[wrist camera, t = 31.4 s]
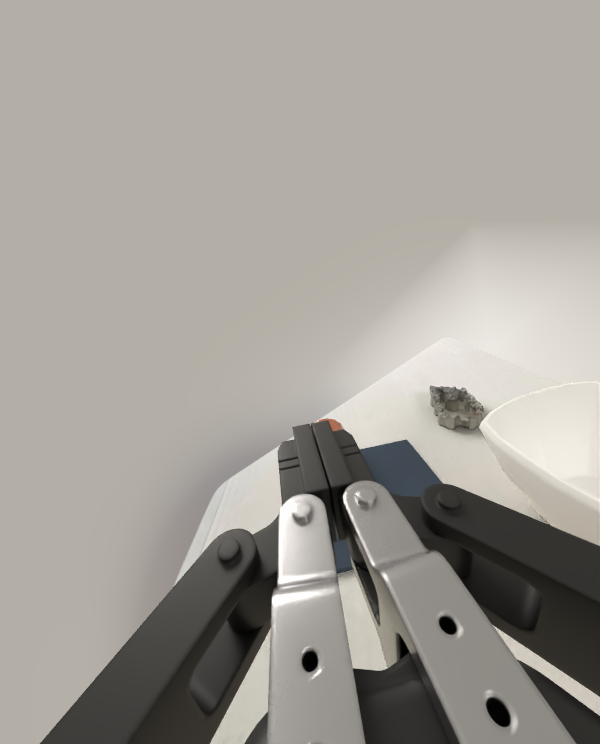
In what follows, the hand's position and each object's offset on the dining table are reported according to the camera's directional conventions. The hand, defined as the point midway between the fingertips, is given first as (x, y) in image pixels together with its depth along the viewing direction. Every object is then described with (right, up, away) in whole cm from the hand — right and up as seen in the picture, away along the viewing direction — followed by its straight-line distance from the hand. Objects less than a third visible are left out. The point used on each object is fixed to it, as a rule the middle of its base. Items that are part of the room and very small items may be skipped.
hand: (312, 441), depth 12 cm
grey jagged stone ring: (+29, -5, +42) cm, 51 cm away
